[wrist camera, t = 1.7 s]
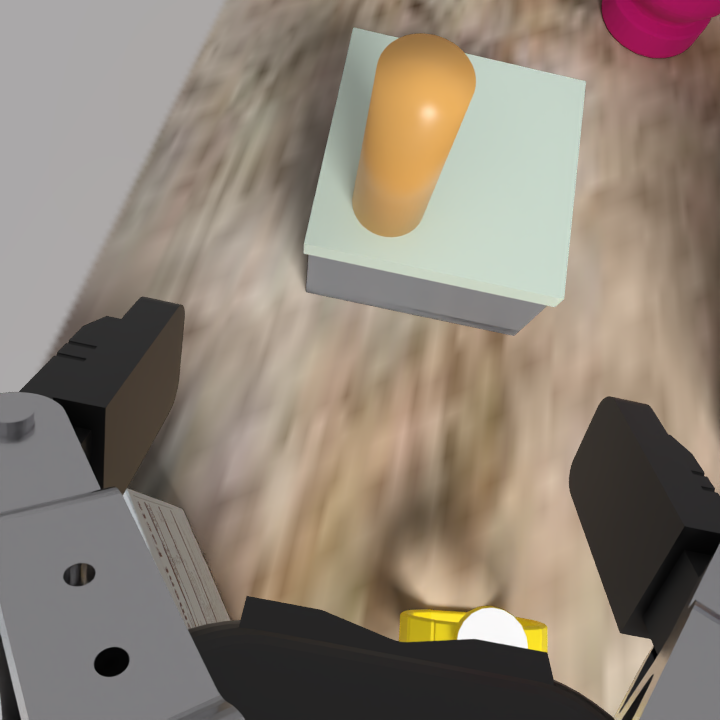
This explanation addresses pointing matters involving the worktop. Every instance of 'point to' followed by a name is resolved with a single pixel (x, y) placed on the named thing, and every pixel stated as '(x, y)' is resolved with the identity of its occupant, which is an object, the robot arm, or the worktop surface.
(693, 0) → the pepper mill
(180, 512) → the supplement box
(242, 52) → the worktop surface
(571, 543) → the worktop surface
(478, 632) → the watch
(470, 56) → the lid
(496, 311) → the parts tub
